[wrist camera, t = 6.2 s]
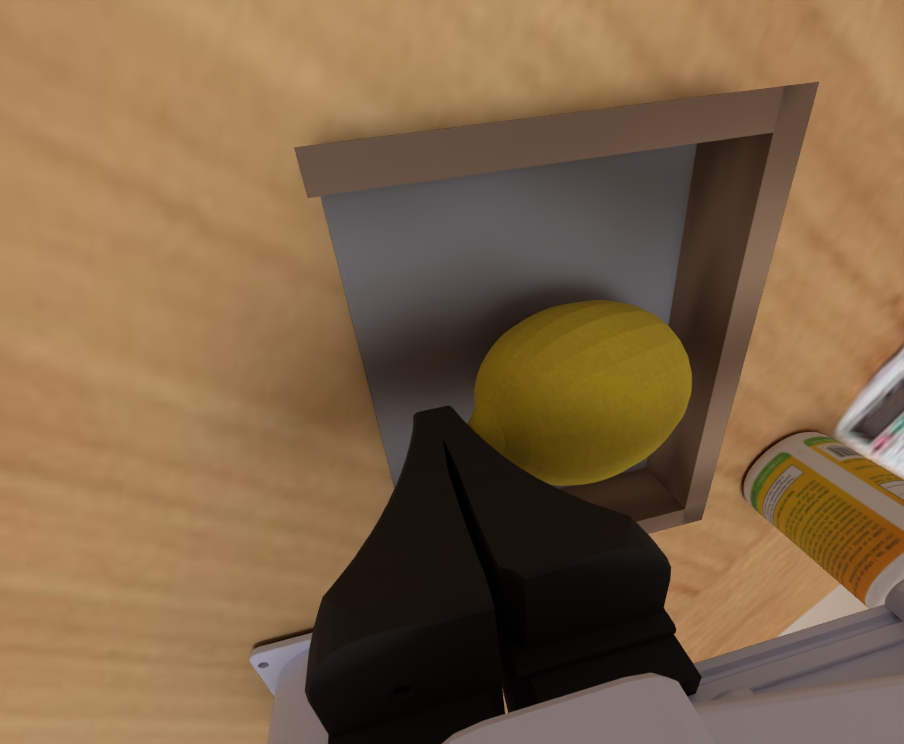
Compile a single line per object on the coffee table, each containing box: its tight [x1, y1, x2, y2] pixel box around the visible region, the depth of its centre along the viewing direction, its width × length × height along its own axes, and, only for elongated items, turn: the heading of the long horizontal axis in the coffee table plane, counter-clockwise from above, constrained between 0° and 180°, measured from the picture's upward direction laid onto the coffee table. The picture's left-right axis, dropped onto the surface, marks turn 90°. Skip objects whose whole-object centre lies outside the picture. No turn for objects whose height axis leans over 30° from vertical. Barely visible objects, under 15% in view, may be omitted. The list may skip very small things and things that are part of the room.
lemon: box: [468, 300, 692, 486], centre depth 13 cm, size 6×6×8 cm
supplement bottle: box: [744, 432, 904, 609], centre depth 18 cm, size 5×5×10 cm
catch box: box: [295, 82, 819, 534], centre depth 14 cm, size 16×13×3 cm
